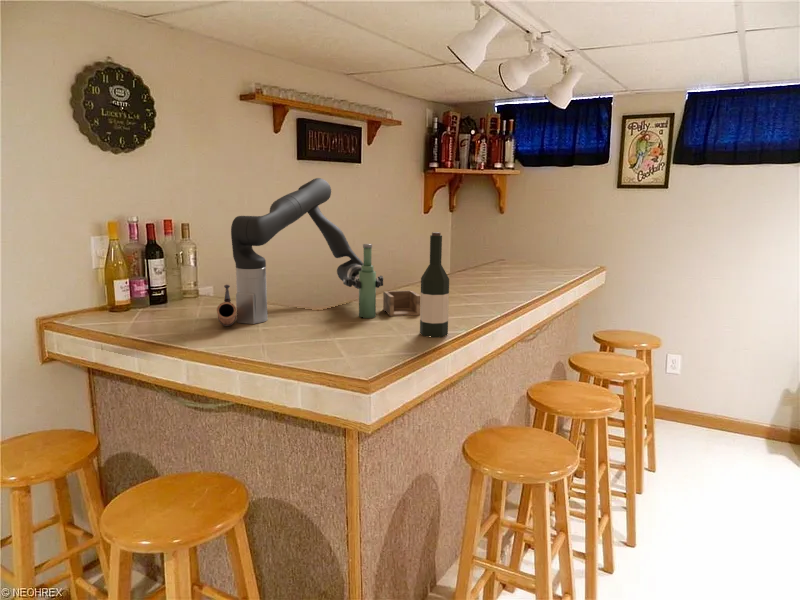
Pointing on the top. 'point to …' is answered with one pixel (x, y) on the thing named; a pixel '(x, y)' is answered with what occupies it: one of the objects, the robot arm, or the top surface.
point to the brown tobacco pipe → (226, 310)
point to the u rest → (401, 303)
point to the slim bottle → (367, 285)
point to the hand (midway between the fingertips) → (368, 284)
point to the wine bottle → (434, 293)
